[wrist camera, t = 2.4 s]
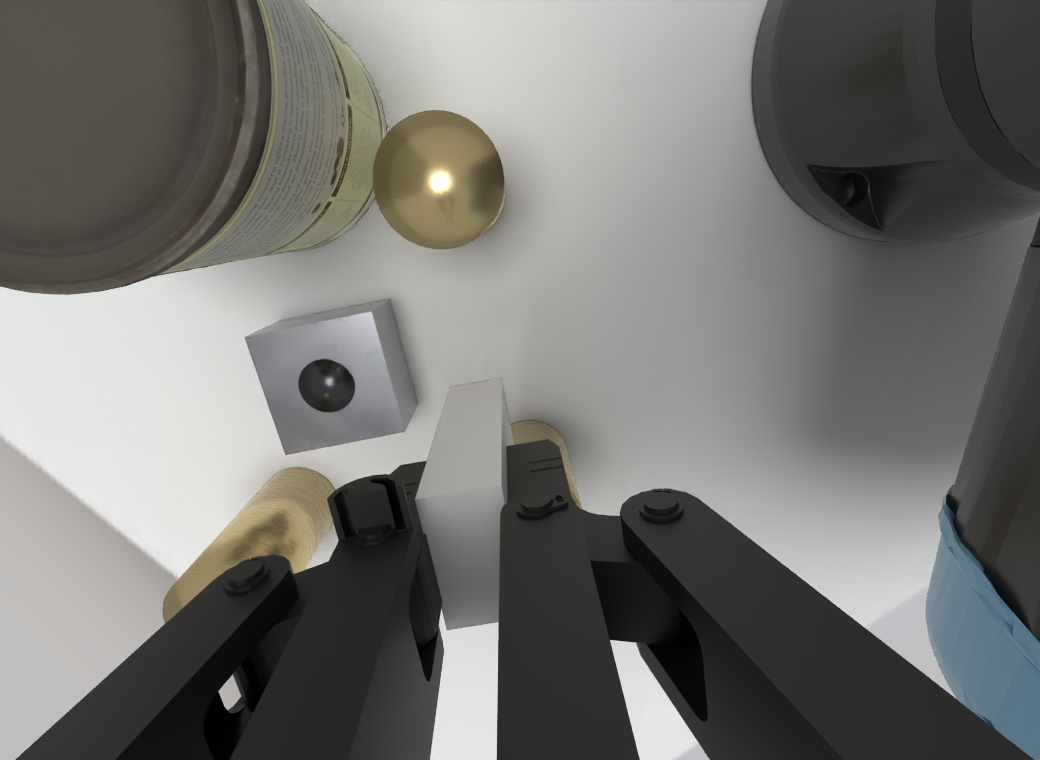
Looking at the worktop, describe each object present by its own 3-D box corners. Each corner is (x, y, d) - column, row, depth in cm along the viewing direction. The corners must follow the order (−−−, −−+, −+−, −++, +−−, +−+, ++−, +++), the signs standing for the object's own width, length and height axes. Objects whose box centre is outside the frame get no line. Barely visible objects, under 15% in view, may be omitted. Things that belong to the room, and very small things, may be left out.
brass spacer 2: (496, 139, 25) (491, 99, 16) (511, 230, 26) (513, 237, 18) (409, 155, 25) (358, 122, 16) (427, 244, 26) (389, 258, 18)
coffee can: (209, 277, 26) (-102, 341, 13) (115, 37, 24) (-412, -204, 10) (418, 225, 26) (323, 236, 12) (349, -25, 23) (127, -366, 10)
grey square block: (390, 298, 27) (371, 311, 23) (418, 402, 29) (404, 432, 25) (281, 320, 27) (243, 337, 23) (314, 423, 29) (284, 455, 25)
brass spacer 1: (327, 462, 29) (251, 564, 21) (346, 528, 30) (282, 651, 22) (253, 474, 29) (147, 581, 21) (275, 539, 30) (183, 667, 22)
